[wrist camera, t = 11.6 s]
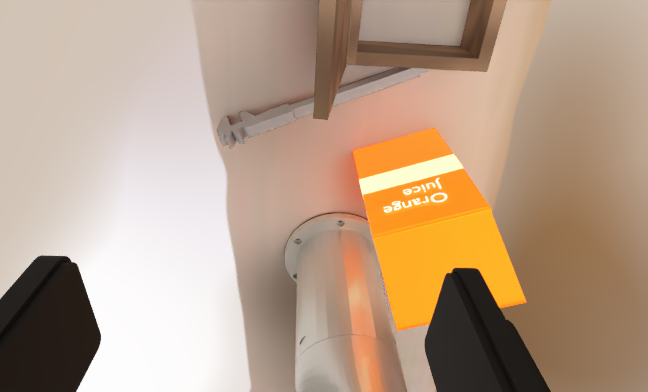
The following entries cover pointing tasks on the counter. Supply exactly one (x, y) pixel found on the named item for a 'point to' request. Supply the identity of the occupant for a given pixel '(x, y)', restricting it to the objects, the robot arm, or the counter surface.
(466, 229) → the orange juice
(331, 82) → the case
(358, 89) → the caliper
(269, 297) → the counter surface
